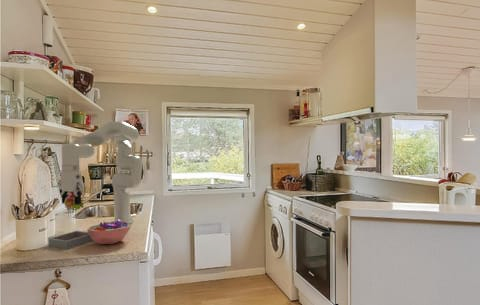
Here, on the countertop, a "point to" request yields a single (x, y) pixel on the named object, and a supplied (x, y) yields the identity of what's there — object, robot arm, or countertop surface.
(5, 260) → the countertop surface
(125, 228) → the cell model
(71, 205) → the bird rattle
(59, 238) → the grey picture frame
